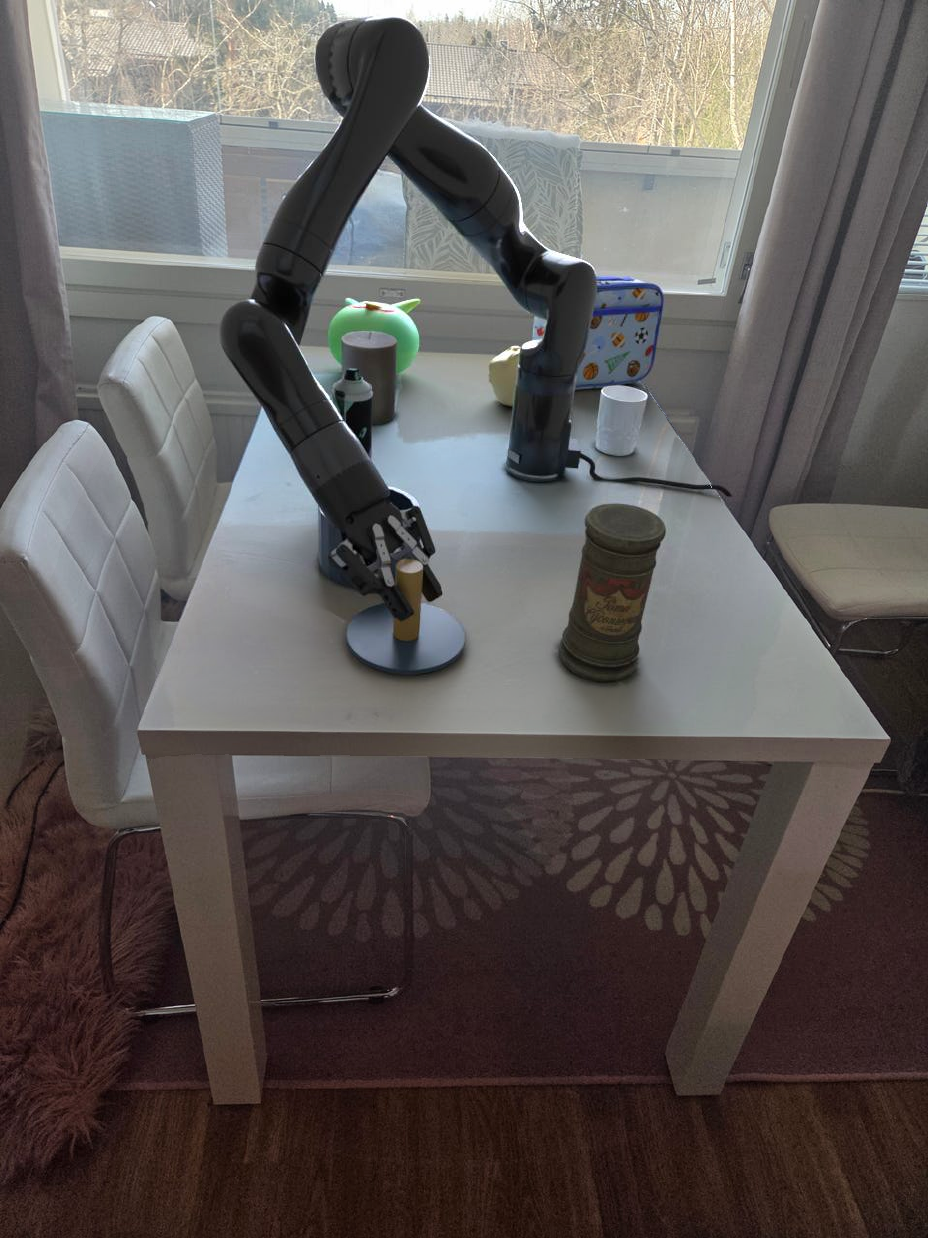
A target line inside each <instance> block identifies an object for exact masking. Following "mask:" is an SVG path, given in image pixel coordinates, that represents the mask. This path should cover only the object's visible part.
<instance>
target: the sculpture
mask: <svg viewBox="0 0 928 1238" xmlns="http://www.w3.org/2000/svg"><path fill="white" fill-rule="evenodd" d="M520 348H521V346H519V345H512V346H510V347H509V348H507V349H506V350H505V351H503V352H501V353H500V354H499V355H496V356H495V357H493V358H491V360H490V362H489V363H488V373H487V376H488V382H489V384H490V386H491V388H492V391H493V393H494V396H495V397H496V399H497V400H498V402H499V403H500V404H502V405H504V406H508V407H513V403H514V394H515V385H516V376H517V367H518V359H519V352H520Z"/></svg>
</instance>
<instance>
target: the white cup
mask: <svg viewBox="0 0 928 1238" xmlns="http://www.w3.org/2000/svg"><path fill="white" fill-rule="evenodd" d="M648 397H649V396H648V394H647V393H646V392H645V391H643V390H641V389H638V388H636V387H633V386H628V385H614V386H607V387H603V388H601V390H600V397H599V405H598V406H599V407H598V412H597V413H598V415H597V422H596V439H595V448H596V449H597V450H598V451H600V452H601V453H604V454H607V455H611V456H617V457H622V456H623V457H624V456H629V455H631V454H632V453H634V450H635V445H636V441H637V438H638V436H639V433H640V431H641V430H640V429H641V426H642V422H643V417H644V414H645V410H646V405H647V401H648Z"/></svg>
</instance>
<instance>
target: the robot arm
mask: <svg viewBox="0 0 928 1238" xmlns="http://www.w3.org/2000/svg"><path fill="white" fill-rule="evenodd" d="M313 57H314V71H315V75H316V79H317V82H318V84H319V87H320V90H321V91H322V93H323V96H324V97H325V99H326V100H327V102H328V103H329V105H331V107H332V108H333V109H334V111H336V113H337V114H338V115H339V116H341V117H342V120H341V121H340V124H339V125H338V127H337V129H336V130H335V132H334V133H333V135H332V136H331V138H330V139H329V140H328V142H327V144H326V145H325V146H324V148H322V150H321V151H320V153H319V154H318V155H317V156H316V157H315V158H314V160H313V161H311V163H310V164H309V166H308V167H306V169H305V170H304V171H303V172H302V174H300V175H299V177H298V178H297V179H296V180H295V182H294V183H293V184H292V186H291V187H290V189H289V190H288V191H287V193H286V194H285V196H284V197H283V198H282V201H281V202H280V203H279V206H278V208H277V209H276V212H275V214H274V216H273V218H272V220H271V223H270V225H269V227H268V230H267V232H266V234H265V237H264V239H263V242H262V244H261V246H260V248H259V251H258V254H257V256H256V260H255V265H254V271H255V274H254V275H255V283H254V286H253V289H252V292H251V295H250V296H249V297H250V298H249V299H243V300H239V301H236V302H234V303H233V304H231V305H230V306H229V307H228V308H227V309H226V310H225V312H224V313H223V315H222V317H221V319H220V321H219V328H218V336H219V342H220V345H221V348H222V351H223V353H224V354H225V356H226V357H227V359H228V360H229V362H230V363H231V365H232V366H233V368H234V369H235V371H236V372H237V374H238V375H239V377H240V378H241V379H242V381H243V382H244V384H245V385H246V386H247V388H248V389H249V391H250V392H251V393H252V395H253V397H254V398H255V399H256V401H257V402H258V403H259V405H260V406H261V407H262V410H263V411H264V413H265V415H266V417H267V419H268V421H269V423H270V425H271V427H272V429H273V430H274V432H275V434H276V435H277V437H278V439H279V440H280V442H281V444H282V445H283V447H284V449H285V450H286V451H287V454H288V455H289V457H290V459H291V460H292V462H293V464H294V467H295V469H296V471H297V474H298V475H299V477H300V478H301V480H302V482H303V483H304V485H305V487H306V488H307V490H308V492H309V493H310V495H311V496H312V498H313V500H314V501H315V503H316V504H317V507H318V506H319V507H320V509H321V511H322V512H323V514H324V515H325V517H326V519H327V520H328V522H329V523H330V525H331V526H332V527H334V528H337V529H338V530H339V532H340V536H341V541H342V543H341V544H340V545H339V546H338V547H337V548H336V549H335V550H333V551H332V552H330V553H329V554H328V556H327V558H328V560H329V562H330V563H331V564H332V565H333V566H334V567H335V568H336V569H337V570H338V571H339V572H340V573H341V574H342V575H343V576H344V577H345V578H346V579H347V580H348V581H349V582H350V583H351V584H352V585H353V587H352V588H354V589H355V590H356V591H357V592H358V593H359V594H360V595H362V596H367V595H370V594H371V595H372V594H376V595H378V596H380V598H381V600H382V601H383V603H385V604H386V606H387V607H388V609H389V611H390V612H391V614H392V615H393V616H394V617H395V618H397V619H398V620H399V621H404V620H405V619H407V618H409V617H411V616H412V615H413V614H414V610H413V608H412V607H411V605H410V604H409V602H408V600H407V599H406V597H405V596H404V594H403V592H402V591H401V589H400V587H399V586H398V584H397V585H394V583H395V582H394V578H393V575H392V572H391V569H390V564H391V559H390V556H391V557H392V558H393V559H394V560H397V561H401V560H404V559H412V558H411V557H410V556H409V555H408V554H410V555H411V556H412V557H413V560H417V561H419V562H420V563H422V565H423V580H422V596H423V597H424V598H425V600H426V601H427V602H428V603H432V602H434V601H435V600H437V599H439V598H440V597H442V596H443V590H442V586H441V583H440V582H439V580H438V578H437V577H436V574H434V572H433V570H432V569H431V566H430V565H429V563H430V559H431V557H432V555H434V554H435V553H436V546H435V544H434V541H433V539H432V537H431V533H430V530H429V528H428V526H427V523H426V520H425V518H424V514H423V512H422V509H421V507H420V508H419V507H418V506H413V507H412V508H410V509H409V510H402V511H400V510H399V509H398V508H397V507H396V506H394V505H393V504H392V503H391V501H390V499H389V495H390V490H389V488H388V486H389V485H387V483H386V482H385V480H384V478H383V477H382V475H381V474H380V472H379V470H378V469H377V467H376V465H375V464H374V462H373V460H371V459H370V457H369V456H368V454H367V452H366V451H365V449H364V447H363V446H362V444H361V443H360V441H359V439H358V438H357V437H356V435H355V434H354V433H353V432H352V430H351V429H350V428H349V427H348V425H347V424H346V422H344V419H343V418H342V416H341V414H340V413H339V411H338V409H337V408H336V406H335V404H334V403H333V401H332V397H330V395H329V394H328V392H327V391H326V390H325V388H324V387H323V385H322V384H321V383H320V381H318V379H317V377H316V376H315V375H314V374H313V372H312V370H311V367H310V365H309V364H308V362H307V360H306V359H305V357H304V355H303V353H302V351H301V349H300V345H301V342H302V339H303V336H304V333H305V329H306V326H307V323H308V319H309V316H310V312H311V309H312V305H313V301H314V298H315V296H316V293H317V291H318V289H319V287H321V286H320V285H321V284H322V281H323V279H324V277H325V275H326V273H327V270H328V268H329V266H330V263H331V262H332V259H333V257H334V254H335V252H336V249H337V247H338V245H339V242H340V240H341V238H342V236H343V234H344V231H345V229H346V227H347V225H348V223H349V222H350V219H351V217H352V214H353V213H354V211H355V210H356V207H357V206H358V204H359V203H360V200H361V199H362V197H363V195H364V194H365V192H366V191H367V189H368V187H369V186H370V184H371V182H372V181H373V179H374V177H375V176H376V174H377V173H378V171H379V170H380V168H381V166H382V165H383V163H384V162H385V160H386V158H387V157H388V158H389V160H391V161H392V163H394V165H395V166H397V168H398V169H399V170H400V171H401V172H402V173H403V174H404V176H405V177H406V178H407V179H408V180H409V181H410V182H411V183H412V184H413V185H414V186H415V187H416V188H417V190H418V191H420V193H421V194H422V195H423V196H424V197H425V198H426V199H427V200H428V201H429V202H430V203H431V205H432V206H433V207H434V208H435V210H436V211H437V213H439V214H440V216H441V217H442V218H443V219H444V220H445V221H446V222H447V223H448V224H449V225H450V227H451V228H453V229H454V231H455V232H456V233H457V234H458V235H459V236H461V238H463V240H464V241H466V242H467V244H468V245H469V246H470V248H472V249H473V250H474V251H475V252H476V253H477V254H478V255H479V256H480V258H482V259H483V260H484V261H485V262H486V263H487V264H488V265H489V266H490V267H491V268H492V269H493V271H494V272H495V273H496V274H497V276H498V277H499V279H500V280H501V282H502V283H503V284H504V286H505V287H506V289H507V290H508V292H509V293H510V294H511V296H512V298H513V299H514V301H516V303H517V304H518V305H519V307H520V308H521V309H522V310H523V311H524V312H526V313H528V314H529V315H532V316H534V317H535V316H536V317H538V318H541V319H543V320H546V321H547V324H546V329H545V333H544V337H543V339H539V340H533V341H532V340H529V341H526V342H524V343H523V344H522V345H521V346H520V347H521V348H520V352H519V359H518V367H517V376H516V385H515V394H514V403H513V406H512V413H511V421H510V429H509V439H508V448H507V454H506V461H505V470H506V471H507V473H509V475H511V476H513V477H515V478H517V479H519V480H523V481H527V482H533V483H534V482H535V483H549V482H553V481H556V480H557V481H558V480H560V481H563V480H564V479H565V472H566V469H577V470H578V469H579V465H580V461H581V460H583V461H585V462H587V463H588V465H589V476H591V478H593V479H594V480H596V481H599V482H600V481H601V482H611V483H622V484H623V483H624V484H625V483H646V484H651V485H660V486H667V487H675V488H680V489H681V488H682V489H687V490H688V489H689V490H696V491H697V490H698V491H704V490H716V491H719V492H721V493H722V494H724V495H725V497H728V498H731V497H733V495H732V494H731V492H730V491H729V490H728V489H727V488H726V487H724V486H723V485H720V484H715V483H714V484H713V483H712V484H711V483H710V484H709V483H708V484H695V483H694V484H693V483H686V482H679V481H672V480H666V479H658V478H653V477H652V478H651V477H643V476H642V477H641V476H631V477H630V476H629V477H622V478H605V477H602V476H600V475H598V474H597V473H596V463H595V462H594V460H593V459H592V458H590V456H588V455H586V454H584V453H582V450H581V447H580V442H579V439H577V438H571V434H572V428H573V423H572V419H571V418H572V411H573V404H574V400H575V399H574V398H575V391H576V390H575V386H576V379H577V373H578V367H579V362H580V359H581V357H582V355H583V353H584V351H585V348H586V345H587V340H588V335H589V330H590V326H591V321H592V316H593V312H594V307H595V302H596V295H597V277H598V276H597V273H596V271H595V269H594V266H592V265H591V264H590V263H589V262H587V261H585V260H582V259H580V258H576V257H573V256H570V255H567V254H564V253H563V254H562V253H559V252H556V251H554V250H551V249H549V248H547V247H546V246H544V245H543V244H542V243H540V241H538V239H537V238H536V237H535V236H534V235H533V234H532V233H531V232H530V230H529V229H528V228H527V227H526V225H525V223H524V222H523V208H522V207H523V206H522V202H521V196H520V193H519V190H518V188H517V187H516V185H515V184H514V182H513V180H512V179H511V177H510V176H509V174H507V172H506V171H505V170H504V168H503V166H501V164H500V163H499V161H497V159H496V158H495V157H494V156H493V155H492V153H491V152H490V151H488V149H487V148H486V147H484V146H483V144H481V143H480V142H478V141H477V140H475V138H473V137H471V136H470V135H468V134H467V133H465V132H464V131H462V130H460V129H459V128H457V127H455V126H454V125H453V124H451V123H449V122H448V121H446V120H444V119H443V118H441V117H439V116H437V115H436V114H435V113H433V112H432V111H430V110H429V109H428V108H426V107H425V106H424V105H423V104H421V103H422V100H423V98H424V96H425V94H426V91H427V88H428V85H429V80H430V74H431V73H430V72H431V71H430V70H431V62H430V61H431V59H430V53H429V48H428V45H427V43H426V40H425V38H424V36H423V34H422V32H421V31H420V29H419V27H418V26H417V25H415V24H414V22H413V21H411V20H410V19H408V18H406V17H405V16H404V17H403V16H400V15H393V14H380V15H379V14H378V15H371V16H364V17H363V16H362V17H356V18H350V19H346V20H342V21H339V22H335V23H333V24H331V25H330V26H328V27H327V28H326V29H325V30H324V31H323V32H322V33H321V35H320V36H319V38H318V40H317V42H316V45H315V49H314V56H313ZM596 276H597V277H596ZM710 485H711V486H712V488H711V486H710ZM402 544H404V546H403V545H402ZM356 554H359V557H360V559H359V558H358V557H357V556H356ZM389 555H390V556H389ZM373 561H374V563H373ZM380 575H381V576H380Z"/></svg>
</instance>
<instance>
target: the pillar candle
mask: <svg viewBox="0 0 928 1238" xmlns="http://www.w3.org/2000/svg"><path fill="white" fill-rule="evenodd" d="M341 344H342V365H341V378H342V377H343V376H344V375H345V374H346V369H350V368H354V367H357V368H358V369H359V374H360V376H361V377H363V380H364V381H365V382H367V383H369V384H371V386H372V392H373V404H372V425H382V424H387V423H390V422H391V421H393V420H395V418H396V408H395V407H396V389H397V386H396V385H397V381H396V380H397V374H396V361H397V340H396V338H394V337H393V336H391V335H389V334H385V333H380V332H374V331H359V332H351V333H347V334H345V335H344V336H342V338H341Z"/></svg>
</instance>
